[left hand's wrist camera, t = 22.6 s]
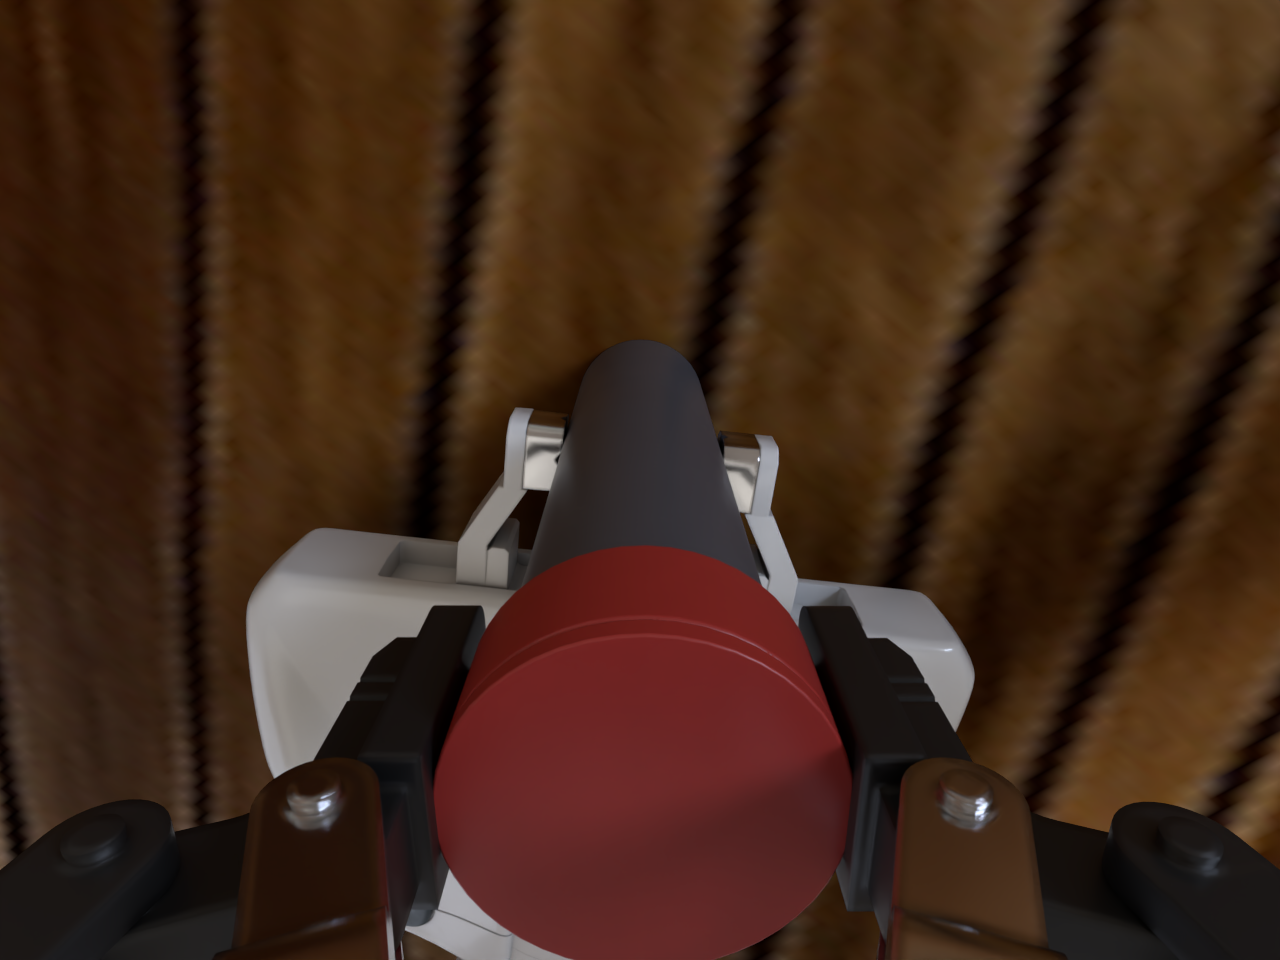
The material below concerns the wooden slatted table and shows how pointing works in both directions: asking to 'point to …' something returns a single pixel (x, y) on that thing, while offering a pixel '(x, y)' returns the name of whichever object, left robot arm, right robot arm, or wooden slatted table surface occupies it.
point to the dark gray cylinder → (640, 466)
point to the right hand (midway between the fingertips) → (643, 426)
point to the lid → (642, 762)
